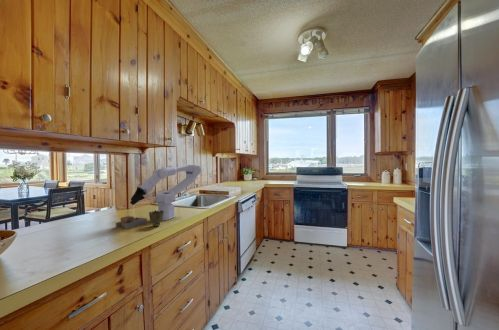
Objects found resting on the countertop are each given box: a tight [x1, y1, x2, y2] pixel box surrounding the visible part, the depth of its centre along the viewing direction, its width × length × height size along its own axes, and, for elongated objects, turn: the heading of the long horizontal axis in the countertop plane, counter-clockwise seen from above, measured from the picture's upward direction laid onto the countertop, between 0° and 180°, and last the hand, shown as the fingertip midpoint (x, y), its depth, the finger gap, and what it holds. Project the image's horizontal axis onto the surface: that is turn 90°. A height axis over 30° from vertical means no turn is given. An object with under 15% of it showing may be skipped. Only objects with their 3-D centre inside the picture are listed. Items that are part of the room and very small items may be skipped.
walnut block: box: [120, 215, 135, 228], centre depth 120 cm, size 4×4×5 cm
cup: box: [148, 209, 164, 228], centre depth 120 cm, size 8×7×8 cm
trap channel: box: [115, 216, 148, 230], centre depth 123 cm, size 14×8×2 cm, turn 157°
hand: (131, 202), depth 120 cm, fingers open, 7 cm apart
